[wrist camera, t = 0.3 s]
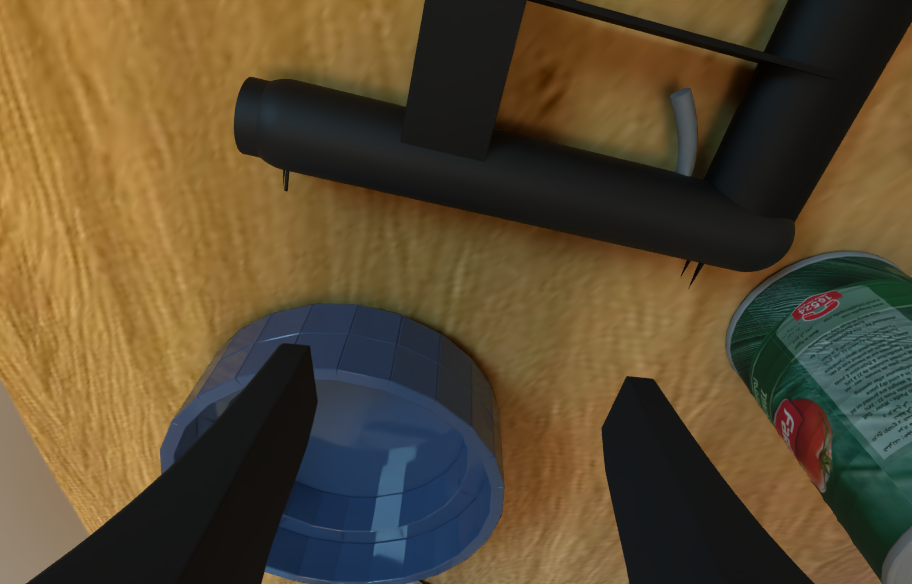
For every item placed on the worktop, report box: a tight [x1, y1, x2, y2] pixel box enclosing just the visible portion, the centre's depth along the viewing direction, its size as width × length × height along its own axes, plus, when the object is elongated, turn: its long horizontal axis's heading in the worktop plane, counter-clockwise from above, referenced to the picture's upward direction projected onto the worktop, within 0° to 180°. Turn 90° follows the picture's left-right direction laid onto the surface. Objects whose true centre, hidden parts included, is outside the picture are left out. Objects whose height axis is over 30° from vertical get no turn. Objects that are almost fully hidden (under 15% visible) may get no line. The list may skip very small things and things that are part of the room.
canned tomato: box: [726, 251, 912, 584], centre depth 19 cm, size 8×8×11 cm
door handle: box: [234, 0, 912, 289], centre depth 16 cm, size 3×20×16 cm
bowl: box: [160, 304, 505, 584], centre depth 25 cm, size 15×15×5 cm
